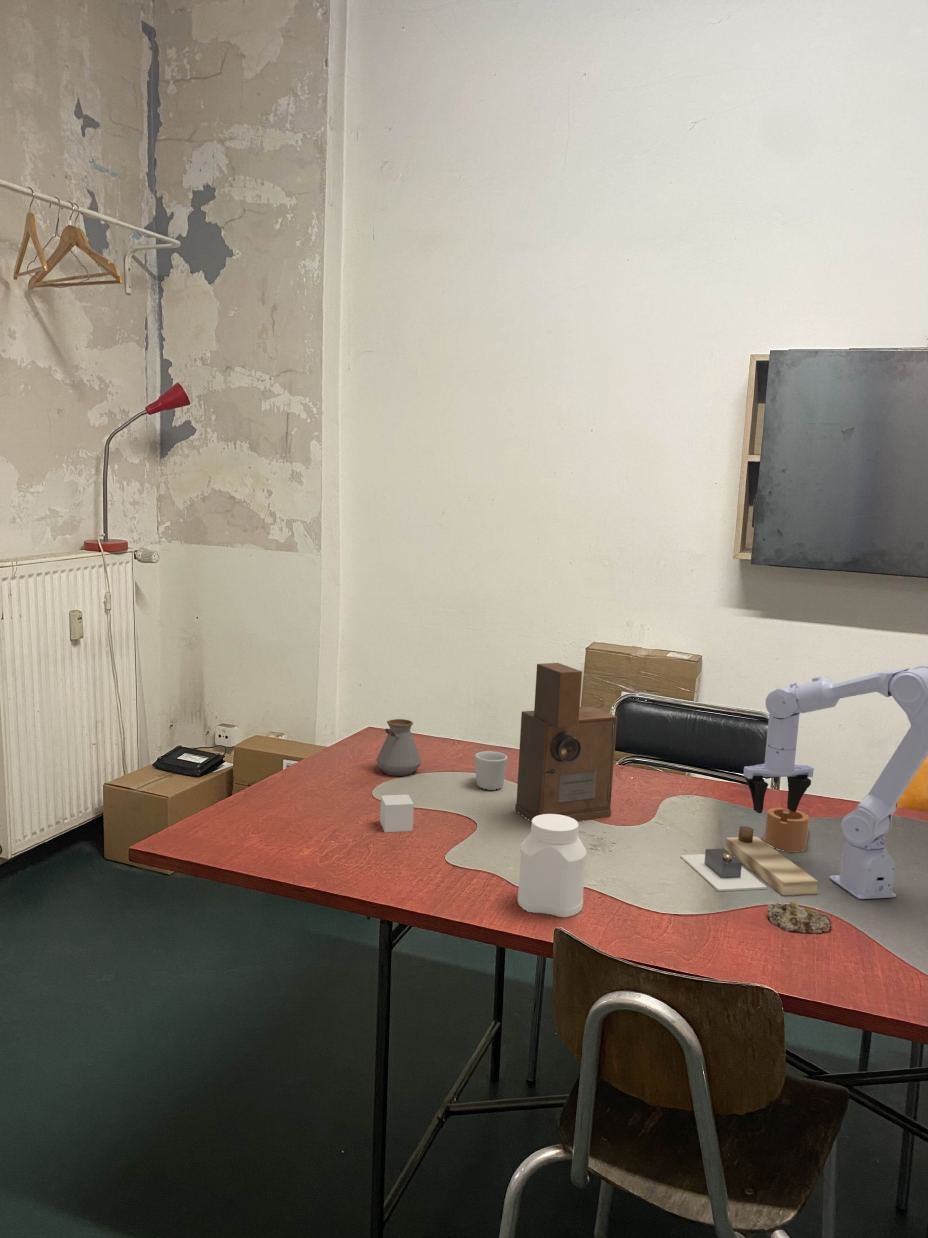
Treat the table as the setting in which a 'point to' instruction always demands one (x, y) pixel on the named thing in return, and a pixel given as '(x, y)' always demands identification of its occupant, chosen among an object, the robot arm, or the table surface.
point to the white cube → (396, 813)
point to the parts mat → (723, 884)
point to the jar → (552, 867)
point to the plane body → (770, 864)
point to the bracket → (787, 829)
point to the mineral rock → (798, 918)
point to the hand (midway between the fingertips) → (774, 811)
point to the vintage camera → (565, 750)
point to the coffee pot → (399, 749)
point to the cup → (490, 769)
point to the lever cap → (723, 863)
